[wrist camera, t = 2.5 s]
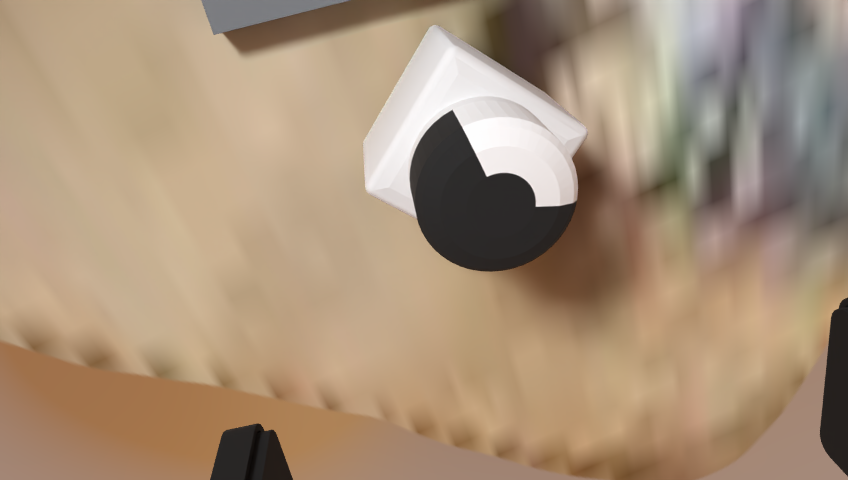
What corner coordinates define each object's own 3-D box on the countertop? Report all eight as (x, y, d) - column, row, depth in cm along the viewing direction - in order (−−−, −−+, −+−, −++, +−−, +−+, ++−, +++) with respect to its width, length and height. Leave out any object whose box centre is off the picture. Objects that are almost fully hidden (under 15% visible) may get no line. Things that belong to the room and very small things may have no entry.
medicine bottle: (473, 206, 36) (525, 322, 25) (360, 144, 34) (363, 242, 23) (548, 94, 34) (639, 169, 23) (431, 20, 32) (472, 66, 21)
